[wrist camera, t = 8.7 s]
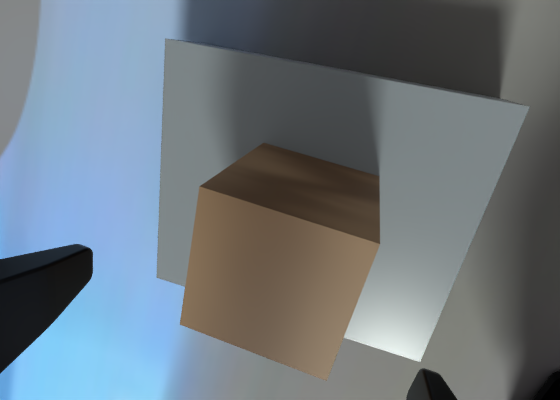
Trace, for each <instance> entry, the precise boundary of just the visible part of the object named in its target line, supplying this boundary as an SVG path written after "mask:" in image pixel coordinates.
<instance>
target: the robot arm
mask: <svg viewBox="0 0 560 400" xmlns="http://www.w3.org/2000/svg"><path fill="white" fill-rule="evenodd" d="M92 274H93V252H92V250H91V249H90V248H89V247H86V246H83V245H80V244H73V245H68V246H63V247H59V248H54V249H49V250H44V251H39V252H34V253H29V254H24V255H19V256H14V257H9V258H5V259H0V373H1V372H2V371H3V370H4V369H6V368H7V367H8V366H9V365H10V364H11V363H12V362H13V361H14V360H15V359H16V358H17V357H18V356H19V355H20V354H21V353H22V352H23V351H24V350H25V349H26V348H28V347H29V346H30V345H31V344H32V343H33V342H34V341H35V340H36V339H37V338H38V337H39V336H40V335H41V334H42V333H43V332H44V331H45V330H46V329H47V328H48V327H49V326H50V325H51V324H52V323H53V322H54V321H55V320H56V319H57V318H58V316H59V315H60V314H61V313H62V312H63V311H64V310H65V308H66V307H67V306H68V305H69V304H70V303H71V302H72V300H73V299H74V298H75V297H76V296H77V295H78V293H79V292H80V291H81V290H82V289H83V288H84V287H85V285H86V284H87V283H88V282H89V281H90V279H91V277H92ZM406 400H457V398H456V397H455V395H454V394H453V393H452V391H451V390H450V388H449V387H448V385H447V384H446V382H445V381H444V379H443V378H442V377H441V375H440V374H438V373H436V372H433V371H431V370H428V369H425V368H422V369H420V370H419V372H418V373H417V375H416V377H415V379H414V381H413V383H412V385H411V387H410V389H409V391H408V394H407V399H406ZM533 400H560V372H556V373H553V374H552V375H551V376H550V378H549V379H548V380H547V382H546V383H545V384H544V386H543V387H542V388H541V390H540V391H539V393H538V394H537V395H536V397H535V398H534V399H533Z"/></svg>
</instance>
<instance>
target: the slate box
mask: <svg viewBox="0 0 560 400" xmlns="http://www.w3.org/2000/svg"><path fill="white" fill-rule="evenodd" d="M529 108H530V107H529V106H526V105H522V104H518V103H515V102H511V101H508V100H504V99H500V98H495V97H490V96H484V95H479V94H474V93H468V92H463V91H457V90H452V89H447V88H441V87H436V86H430V85H425V84H420V83H414V82H409V81H404V80H398V79H393V78H387V77H382V76H377V75H371V74H366V73H360V72H355V71H350V70H344V69H339V68H334V67H328V66H323V65H317V64H312V63H307V62H301V61H296V60H290V59H285V58H280V57H274V56H269V55H263V54H258V53H253V52H247V51H242V50H237V49H231V48H226V47H220V46H215V45H210V44H204V43H197V42H189V41H181V40H173V39H165V60H164V88H163V115H162V143H161V170H160V198H159V226H158V253H157V278H160V279H163V280H166V281H169V282H172V283H175V284H178V285H181V286H185V285H186V278H187V271H188V264H189V257H190V249H191V242H192V235H193V228H194V221H195V214H196V207H197V200H198V193H199V186H201V185H202V184H204V183H205V182H207V181H208V180H209V179H211V178H212V177H214V176H215V175H217V174H218V173H220V172H221V171H223V170H224V169H226V168H227V167H228V166H230V165H231V164H233V163H234V162H236V161H237V160H239V159H240V158H242V157H243V156H245V155H246V154H248V153H249V152H250V151H252V150H253V149H255V148H256V147H258V146H259V145H261V144H262V143H267V144H270V145H274V146H277V147H280V148H284V149H287V150H291V151H294V152H298V153H301V154H304V155H308V156H311V157H315V158H318V159H322V160H325V161H329V162H332V163H335V164H339V165H342V166H346V167H349V168H353V169H356V170H359V171H363V172H366V173H370V174H373V175H377V176H380V246H379V248H378V251H377V253H376V256H375V259H374V261H373V264H372V266H371V269H370V271H369V274H368V276H367V279H366V282H365V284H364V287H363V289H362V292H361V294H360V297H359V299H358V302H357V305H356V307H355V310H354V312H353V315H352V317H351V320H350V322H349V325H348V328H347V330H346V333H345V335H344V338H347V339H350V340H353V341H356V342H359V343H363V344H366V345H369V346H372V347H375V348H378V349H381V350H384V351H388V352H391V353H394V354H397V355H400V356H403V357H406V358H409V359H413V360H416V361H419V362H420V360H421V358H422V356H423V354H424V351H425V349H426V347H427V344H428V342H429V340H430V337H431V335H432V333H433V330H434V328H435V326H436V323H437V321H438V319H439V316H440V314H441V312H442V309H443V307H444V305H445V302H446V300H447V298H448V296H449V293H450V291H451V289H452V286H453V284H454V282H455V279H456V277H457V275H458V272H459V270H460V268H461V265H462V263H463V261H464V258H465V256H466V254H467V251H468V249H469V247H470V244H471V242H472V240H473V238H474V235H475V233H476V231H477V228H478V226H479V224H480V221H481V219H482V217H483V214H484V212H485V210H486V207H487V205H488V203H489V200H490V198H491V196H492V193H493V191H494V189H495V186H496V184H497V182H498V180H499V177H500V175H501V173H502V170H503V168H504V166H505V163H506V161H507V159H508V156H509V154H510V152H511V149H512V147H513V145H514V142H515V140H516V138H517V135H518V133H519V131H520V128H521V126H522V124H523V122H524V119H525V117H526V115H527V112H528V110H529Z"/></svg>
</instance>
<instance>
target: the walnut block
mask: <svg viewBox="0 0 560 400" xmlns="http://www.w3.org/2000/svg"><path fill="white" fill-rule="evenodd" d="M379 246H380V176H377V175H373V174H370V173H366V172H363V171H359V170H356V169H353V168H349V167H346V166H342V165H339V164H335V163H332V162H329V161H325V160H322V159H318V158H315V157H311V156H308V155H304V154H301V153H298V152H294V151H291V150H287V149H284V148H280V147H277V146H274V145H270V144H267V143H262V144H261V145H259V146H258V147H256V148H255V149H253V150H252V151H250V152H249V153H248V154H246V155H245V156H243V157H242V158H240V159H239V160H237V161H236V162H234V163H233V164H231V165H230V166H228V167H227V168H226V169H224V170H223V171H221V172H220V173H218V174H217V175H215V176H214V177H212V178H211V179H209V180H208V181H207V182H205V183H204V184H202V185H201V186H199V193H198V200H197V207H196V214H195V221H194V228H193V235H192V242H191V249H190V257H189V264H188V271H187V278H186V285H185V292H184V299H183V306H182V313H181V320H180V325H183V326H185V327H188V328H191V329H193V330H196V331H198V332H201V333H204V334H206V335H209V336H211V337H214V338H217V339H219V340H222V341H224V342H227V343H230V344H232V345H235V346H237V347H240V348H243V349H245V350H248V351H250V352H253V353H255V354H258V355H261V356H263V357H266V358H268V359H271V360H274V361H276V362H279V363H281V364H284V365H287V366H289V367H292V368H294V369H297V370H300V371H302V372H305V373H307V374H310V375H313V376H315V377H318V378H320V379H323V380H326V381H327V379H328V376H329V374H330V371H331V368H332V366H333V363H334V361H335V358H336V356H337V353H338V351H339V348H340V345H341V343H342V340H343V338H344V335H345V333H346V330H347V328H348V325H349V322H350V320H351V317H352V315H353V312H354V310H355V307H356V305H357V302H358V299H359V297H360V294H361V292H362V289H363V287H364V284H365V282H366V279H367V276H368V274H369V271H370V269H371V266H372V264H373V261H374V259H375V256H376V253H377V251H378V248H379Z"/></svg>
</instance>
